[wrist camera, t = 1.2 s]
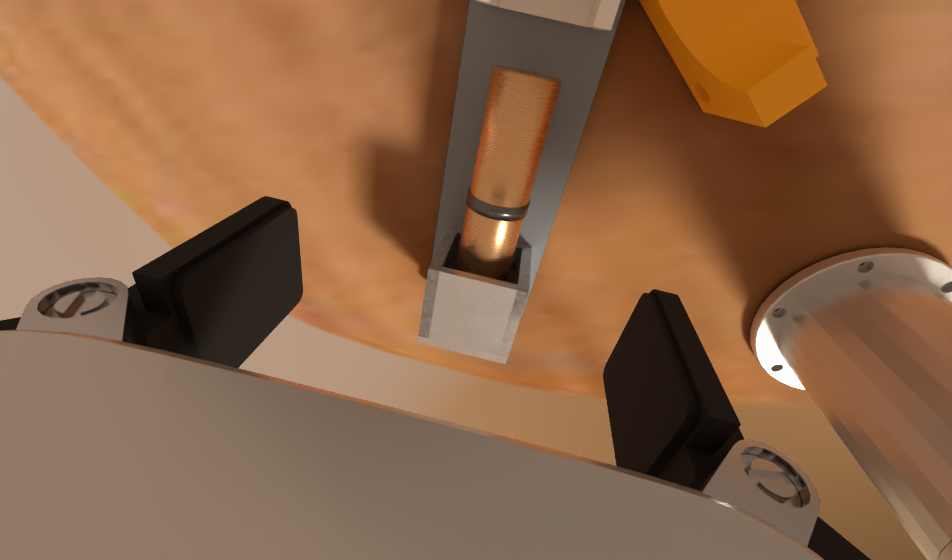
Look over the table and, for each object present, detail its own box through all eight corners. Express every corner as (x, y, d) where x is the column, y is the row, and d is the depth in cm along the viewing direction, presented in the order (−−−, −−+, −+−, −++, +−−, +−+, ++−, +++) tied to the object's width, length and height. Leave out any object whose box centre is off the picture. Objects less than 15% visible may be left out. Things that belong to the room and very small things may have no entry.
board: (639, -53, 20) (644, -57, 19) (523, 307, 33) (522, 315, 32) (486, -87, 20) (483, -93, 19) (430, 284, 33) (426, 292, 32)
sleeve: (532, 246, 29) (528, 293, 24) (512, 311, 32) (505, 364, 27) (448, 226, 29) (428, 268, 24) (437, 293, 32) (417, 342, 27)
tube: (562, 78, 22) (565, 86, 18) (499, 305, 30) (493, 337, 27) (495, 62, 22) (486, 68, 18) (451, 293, 30) (440, 324, 27)
